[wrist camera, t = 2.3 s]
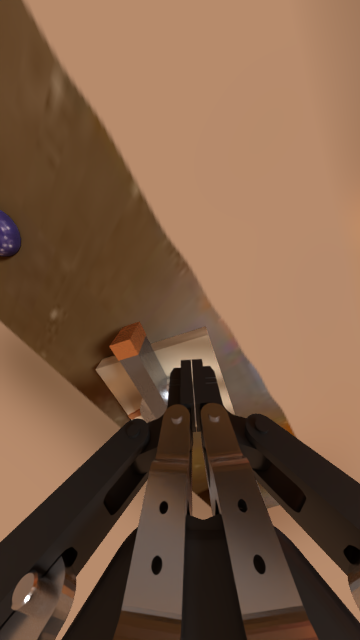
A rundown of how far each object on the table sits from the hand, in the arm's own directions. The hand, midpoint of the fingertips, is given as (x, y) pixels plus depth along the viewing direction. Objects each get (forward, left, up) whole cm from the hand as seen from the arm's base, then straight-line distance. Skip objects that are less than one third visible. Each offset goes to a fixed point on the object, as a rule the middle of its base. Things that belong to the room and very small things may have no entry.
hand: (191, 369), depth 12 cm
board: (-8, +5, -8) cm, 13 cm away
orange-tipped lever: (-5, +5, -6) cm, 9 cm away
